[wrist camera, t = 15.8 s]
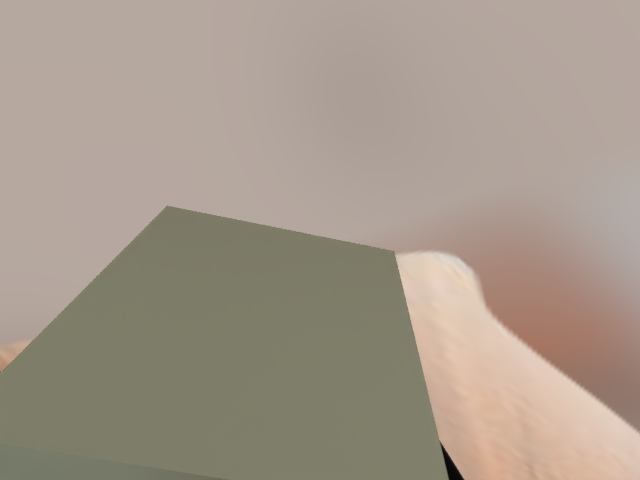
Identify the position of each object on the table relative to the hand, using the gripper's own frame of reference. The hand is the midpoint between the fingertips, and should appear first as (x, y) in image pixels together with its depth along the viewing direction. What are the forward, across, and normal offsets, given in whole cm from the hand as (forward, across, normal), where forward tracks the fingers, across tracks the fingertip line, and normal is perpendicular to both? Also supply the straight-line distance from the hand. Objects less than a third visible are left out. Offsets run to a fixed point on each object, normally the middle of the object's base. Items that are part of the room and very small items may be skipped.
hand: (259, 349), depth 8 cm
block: (+1, 0, 0) cm, 1 cm away
